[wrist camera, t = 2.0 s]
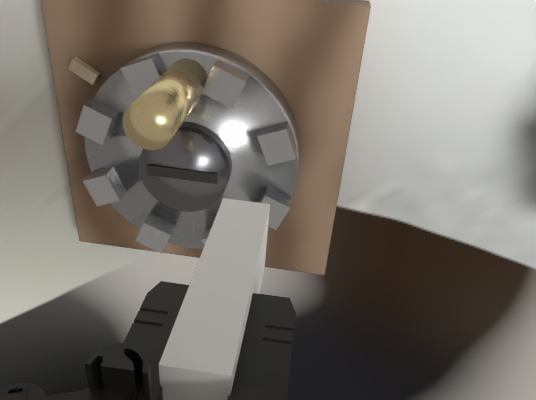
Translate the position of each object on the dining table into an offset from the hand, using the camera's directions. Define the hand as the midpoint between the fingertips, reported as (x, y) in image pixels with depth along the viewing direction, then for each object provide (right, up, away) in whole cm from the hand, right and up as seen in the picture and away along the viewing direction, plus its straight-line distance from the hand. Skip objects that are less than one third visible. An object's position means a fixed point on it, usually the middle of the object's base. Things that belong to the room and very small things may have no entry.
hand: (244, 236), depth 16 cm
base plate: (-4, +6, +20) cm, 21 cm away
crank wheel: (-4, +5, +18) cm, 19 cm away
